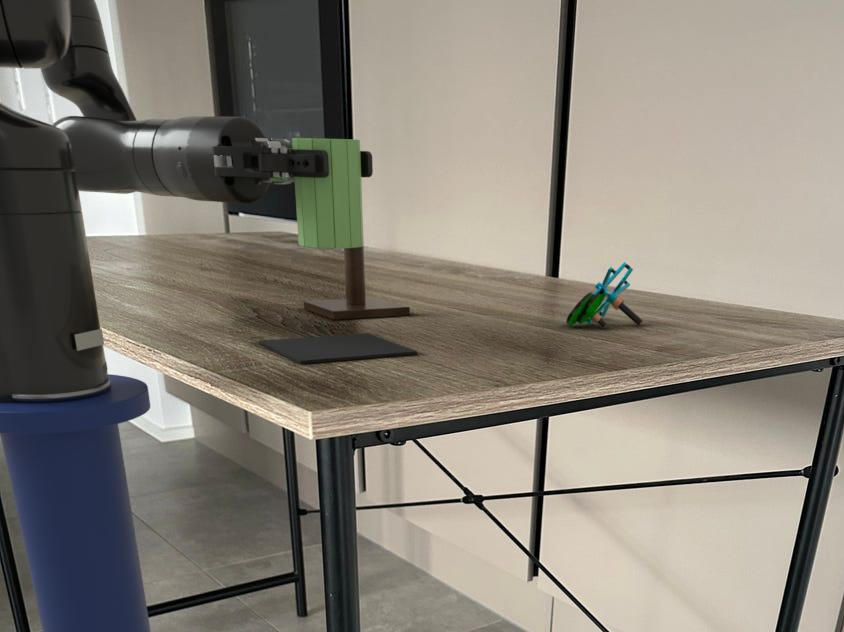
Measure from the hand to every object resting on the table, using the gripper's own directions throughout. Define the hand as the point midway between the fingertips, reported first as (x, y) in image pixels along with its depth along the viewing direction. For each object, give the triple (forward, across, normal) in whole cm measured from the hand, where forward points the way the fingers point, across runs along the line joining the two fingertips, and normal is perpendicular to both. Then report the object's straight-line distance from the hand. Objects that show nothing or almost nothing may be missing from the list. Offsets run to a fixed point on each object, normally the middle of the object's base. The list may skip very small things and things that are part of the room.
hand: (348, 164), depth 85 cm
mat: (-2, 0, +17) cm, 17 cm away
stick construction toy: (+14, +31, +17) cm, 38 cm away
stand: (-16, +22, +17) cm, 32 cm away
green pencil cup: (-2, 0, +7) cm, 7 cm away
